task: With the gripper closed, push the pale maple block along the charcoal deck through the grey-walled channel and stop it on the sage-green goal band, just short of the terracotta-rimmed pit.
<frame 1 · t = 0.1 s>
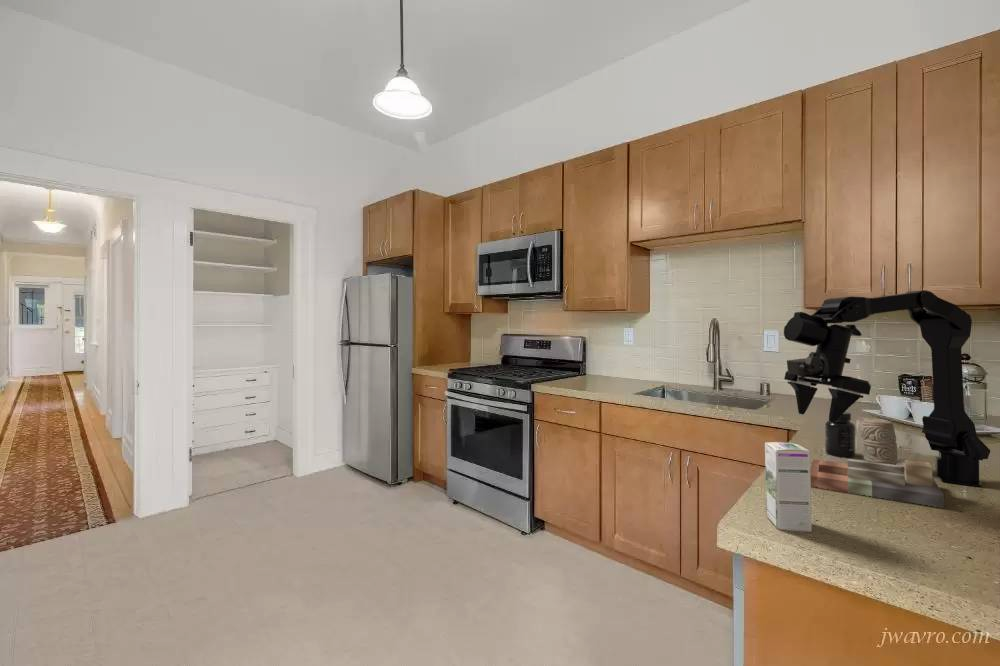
hand: (815, 417, 103), 15 cm above the counter, tool pointing down, fingers open, 9 cm apart
syrup box: (787, 525, 83), on the counter
carving: (878, 467, 117), on the counter
channel deck: (870, 486, 102), on the counter
supplement bottle: (840, 455, 128), on the counter
maple block: (918, 482, 98), point 2 cm above the counter, touching channel deck
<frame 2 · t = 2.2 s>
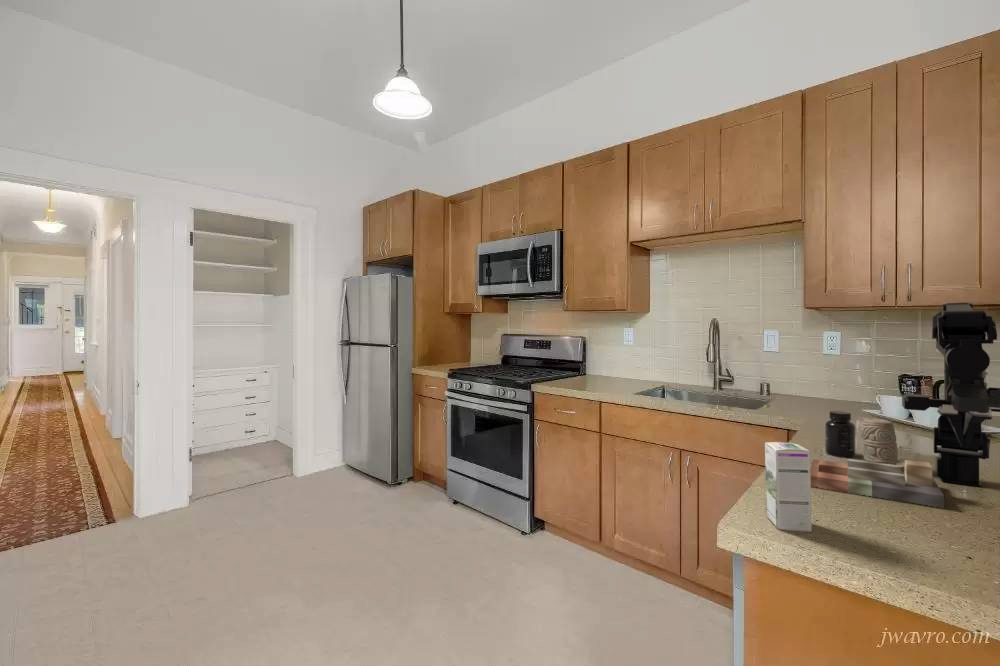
hand: (963, 447, 93), 11 cm above the counter, tool pointing down, fingers closed
nothing on the counter moved.
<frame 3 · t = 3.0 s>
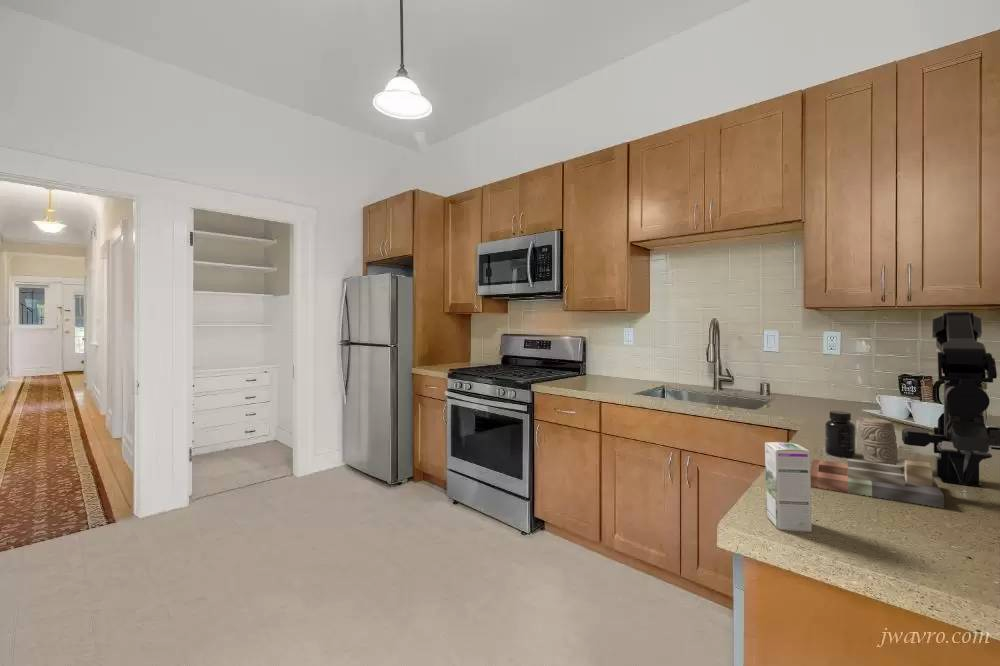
hand: (963, 483, 93), 4 cm above the counter, tool pointing down, fingers closed
nothing on the counter moved.
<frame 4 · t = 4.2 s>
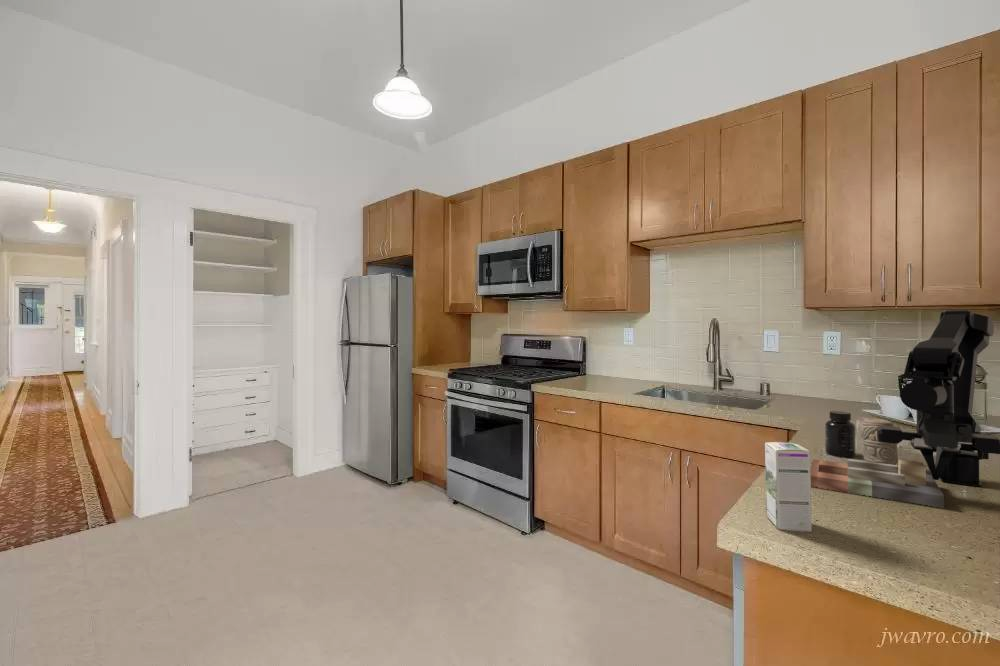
hand: (935, 479, 96), 4 cm above the counter, tool pointing down, fingers closed
maple block: (911, 481, 98), point 3 cm above the counter, touching channel deck, gripper
everything else where it was.
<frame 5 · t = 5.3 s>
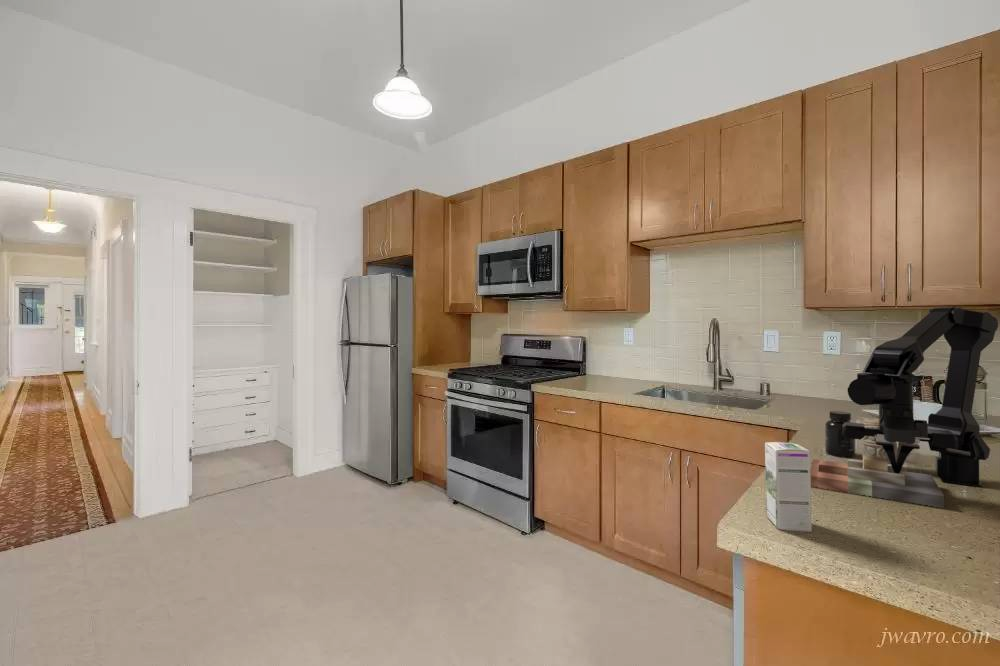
hand: (896, 473, 100), 4 cm above the counter, tool pointing down, fingers closed
maple block: (874, 476, 102), point 3 cm above the counter, touching channel deck, gripper
everything else where it was.
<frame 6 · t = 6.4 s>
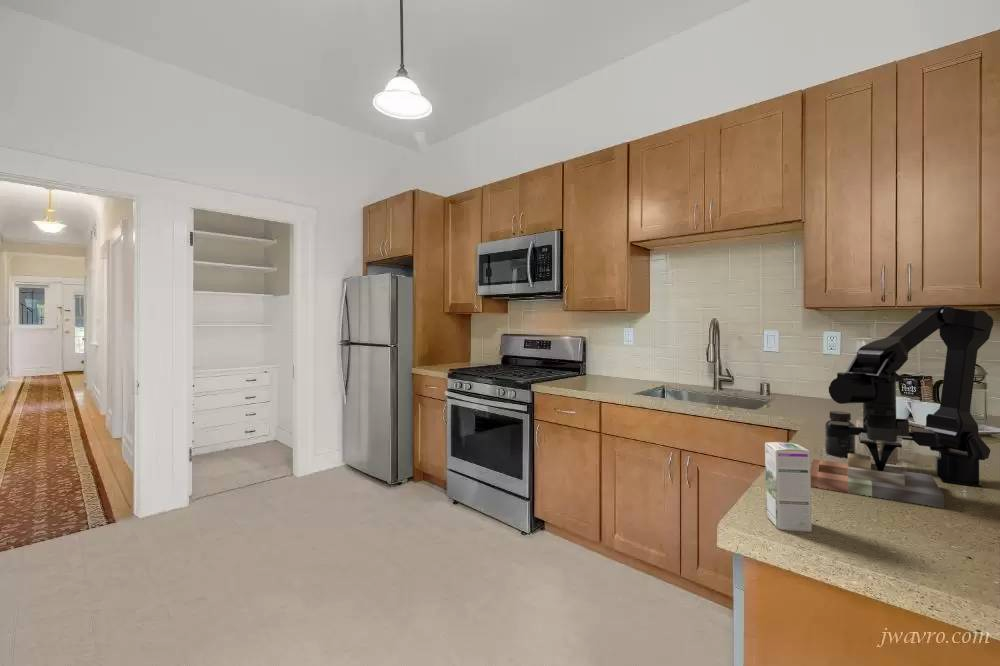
hand: (880, 471, 101), 4 cm above the counter, tool pointing down, fingers closed
maple block: (859, 474, 103), point 2 cm above the counter, touching channel deck, gripper
everything else where it was.
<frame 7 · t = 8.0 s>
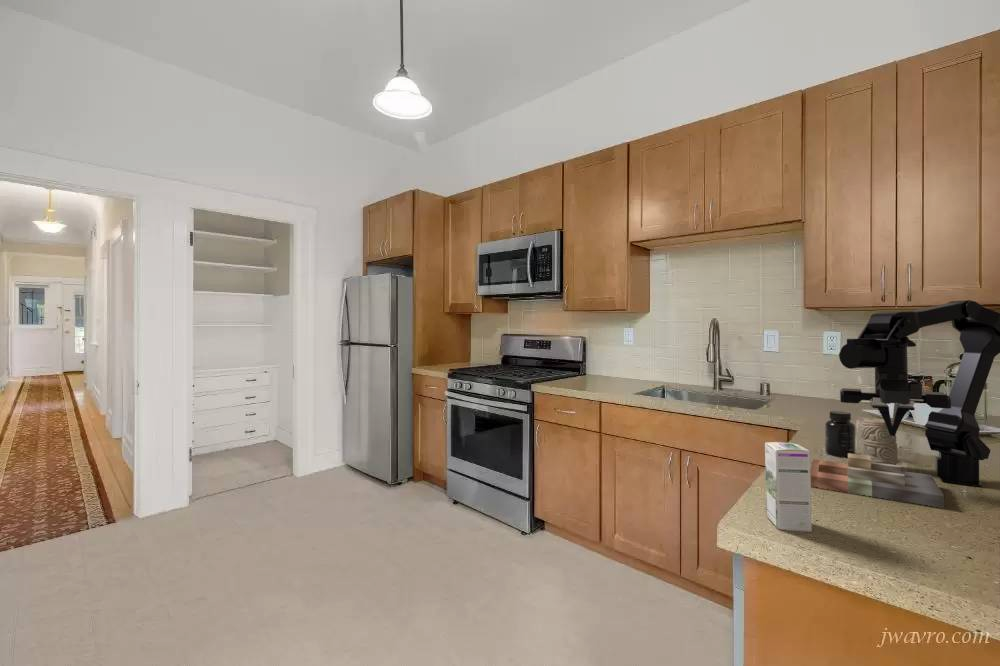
hand: (892, 435, 103), 11 cm above the counter, tool pointing down, fingers closed
maple block: (859, 473, 103), point 2 cm above the counter, touching channel deck
everything else where it was.
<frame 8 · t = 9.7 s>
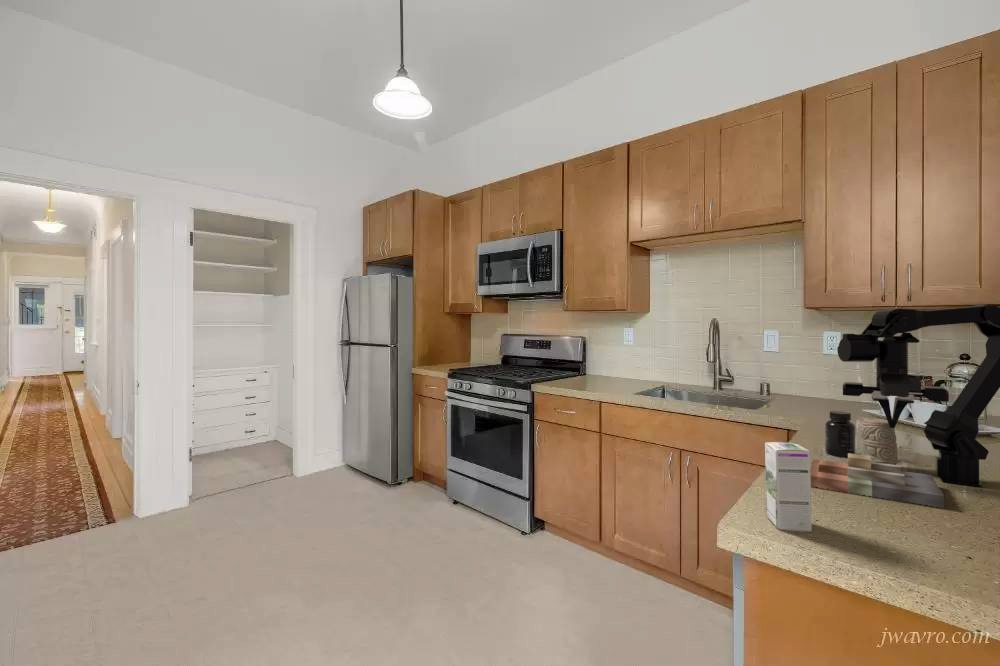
hand: (892, 427, 108), 12 cm above the counter, tool pointing down, fingers closed
nothing on the counter moved.
at the end: maple block 0.2 cm from the target spot, point 2.5 cm above the counter; maple block point 2.5 cm above the counter; maple block tilted 0° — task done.
